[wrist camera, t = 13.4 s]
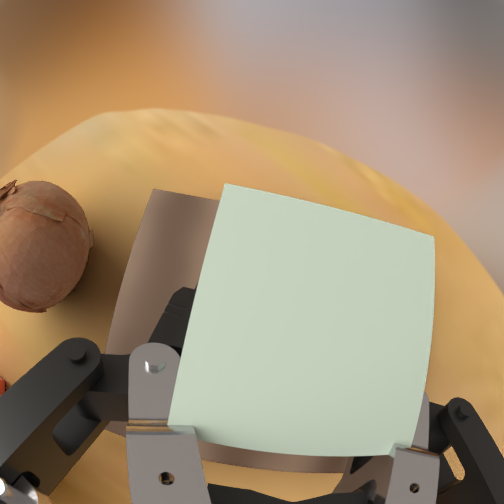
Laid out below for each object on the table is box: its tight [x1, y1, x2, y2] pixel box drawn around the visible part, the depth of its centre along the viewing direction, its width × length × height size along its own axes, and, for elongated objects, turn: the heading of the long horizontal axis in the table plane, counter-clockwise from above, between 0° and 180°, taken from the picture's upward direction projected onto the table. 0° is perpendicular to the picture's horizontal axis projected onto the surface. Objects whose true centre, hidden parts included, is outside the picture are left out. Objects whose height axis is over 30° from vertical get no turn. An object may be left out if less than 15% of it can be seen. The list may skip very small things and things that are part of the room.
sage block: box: [167, 183, 435, 456], centre depth 10 cm, size 5×5×10 cm
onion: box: [0, 180, 94, 313], centre depth 16 cm, size 10×9×10 cm
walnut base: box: [105, 189, 349, 473], centre depth 18 cm, size 18×16×4 cm
